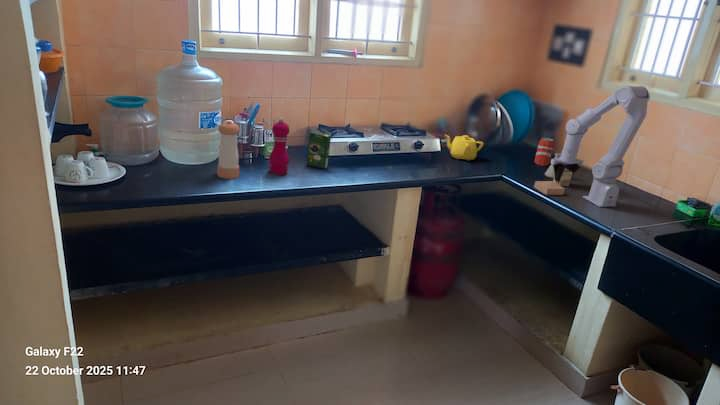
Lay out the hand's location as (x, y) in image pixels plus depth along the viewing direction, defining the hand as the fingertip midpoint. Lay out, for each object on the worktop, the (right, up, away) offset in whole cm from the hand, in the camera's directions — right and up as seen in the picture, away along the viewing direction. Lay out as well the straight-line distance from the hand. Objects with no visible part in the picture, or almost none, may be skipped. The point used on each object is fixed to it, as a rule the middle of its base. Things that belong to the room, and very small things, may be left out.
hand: (561, 180), depth 212 cm
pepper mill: (-112, +2, -24) cm, 115 cm away
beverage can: (0, +8, +24) cm, 25 cm away
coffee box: (-99, +5, -14) cm, 100 cm away
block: (0, -1, +1) cm, 1 cm away
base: (-9, -4, -9) cm, 14 cm away
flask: (0, +2, +9) cm, 10 cm away
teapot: (-38, +11, +19) cm, 44 cm away
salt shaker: (-128, 0, -33) cm, 133 cm away
